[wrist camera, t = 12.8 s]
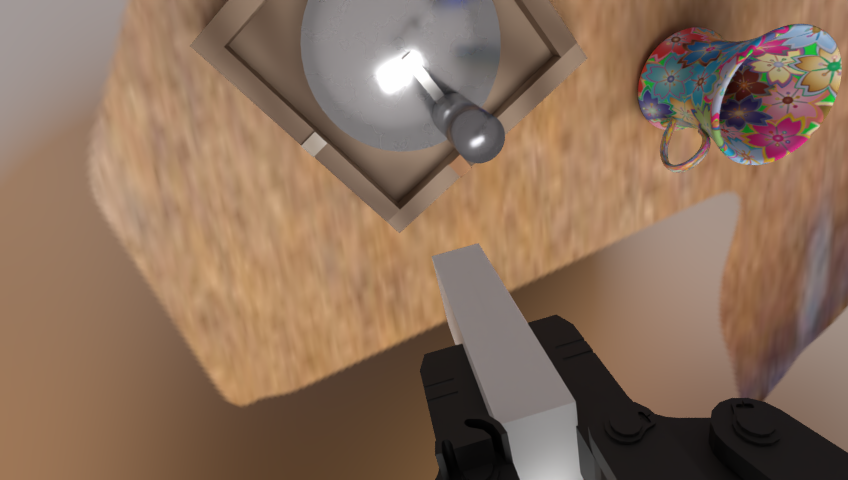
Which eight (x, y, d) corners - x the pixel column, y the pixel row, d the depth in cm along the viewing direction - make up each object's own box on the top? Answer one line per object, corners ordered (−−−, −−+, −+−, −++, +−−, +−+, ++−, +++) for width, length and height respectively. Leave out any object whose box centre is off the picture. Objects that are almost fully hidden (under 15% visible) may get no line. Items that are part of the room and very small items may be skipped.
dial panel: (400, -188, 30) (408, -214, 26) (567, 54, 38) (589, 58, 35) (203, 42, 34) (188, 46, 30) (395, 217, 42) (400, 234, 39)
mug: (691, -4, 38) (807, -11, 28) (744, 72, 42) (863, 89, 32) (584, 112, 41) (659, 141, 31) (643, 174, 44) (725, 217, 35)
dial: (259, 38, 32) (229, 47, 23) (411, -114, 30) (442, -168, 21) (392, 179, 38) (408, 229, 29) (526, 62, 36) (588, 78, 27)
